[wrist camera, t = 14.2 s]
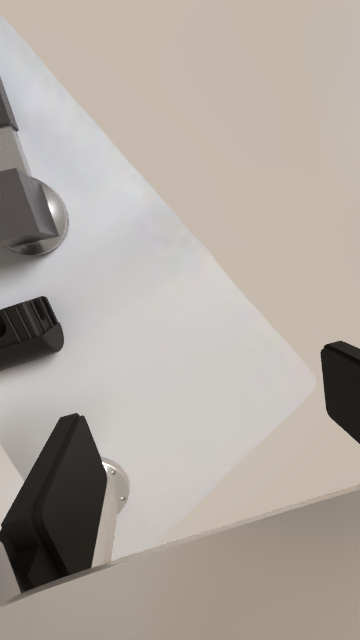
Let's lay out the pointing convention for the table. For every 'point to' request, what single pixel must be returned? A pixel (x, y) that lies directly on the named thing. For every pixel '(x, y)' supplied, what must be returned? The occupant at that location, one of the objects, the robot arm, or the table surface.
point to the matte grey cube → (23, 210)
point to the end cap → (28, 332)
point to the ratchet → (6, 153)
